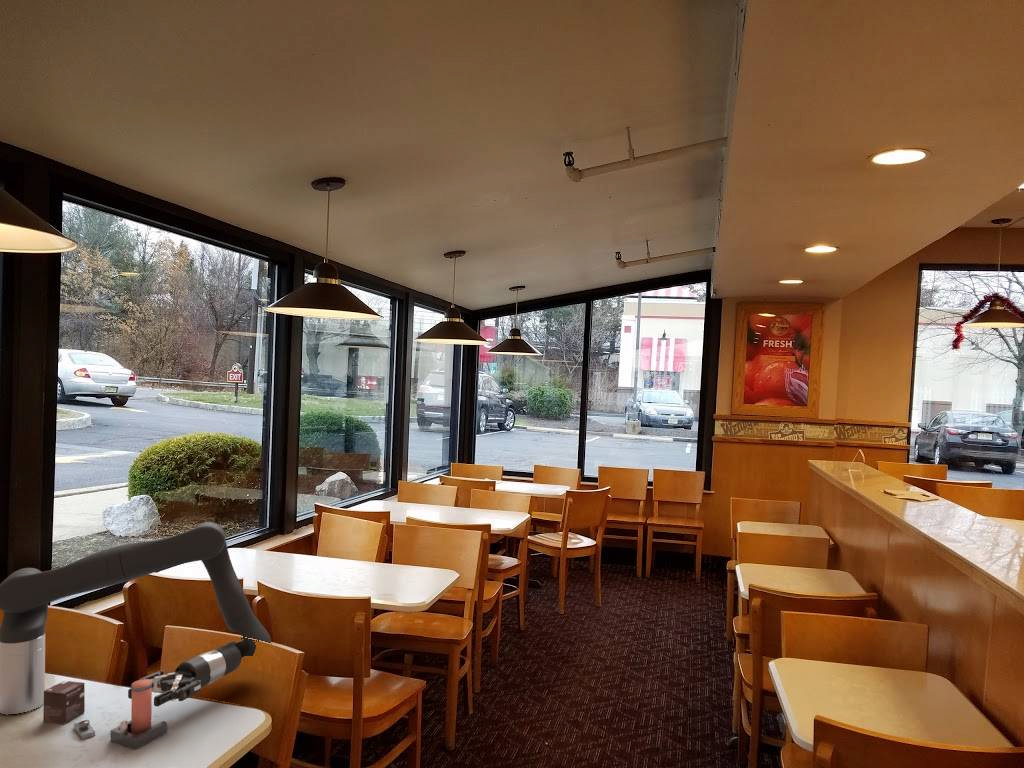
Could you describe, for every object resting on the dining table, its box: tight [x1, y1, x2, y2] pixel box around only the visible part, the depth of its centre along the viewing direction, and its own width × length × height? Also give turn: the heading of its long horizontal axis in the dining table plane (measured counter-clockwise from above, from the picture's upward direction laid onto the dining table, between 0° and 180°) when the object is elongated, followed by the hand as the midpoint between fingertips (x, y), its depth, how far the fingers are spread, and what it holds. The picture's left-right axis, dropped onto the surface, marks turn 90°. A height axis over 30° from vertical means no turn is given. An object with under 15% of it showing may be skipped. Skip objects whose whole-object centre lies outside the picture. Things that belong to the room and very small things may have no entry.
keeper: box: [109, 720, 168, 751], centre depth 154 cm, size 8×8×5 cm
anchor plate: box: [73, 719, 96, 740], centre depth 156 cm, size 7×2×2 cm, turn 46°
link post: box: [130, 679, 153, 735], centre depth 155 cm, size 4×4×12 cm
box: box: [42, 680, 86, 725], centre depth 163 cm, size 6×6×7 cm
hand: (141, 698), depth 155 cm, fingers open, 8 cm apart
